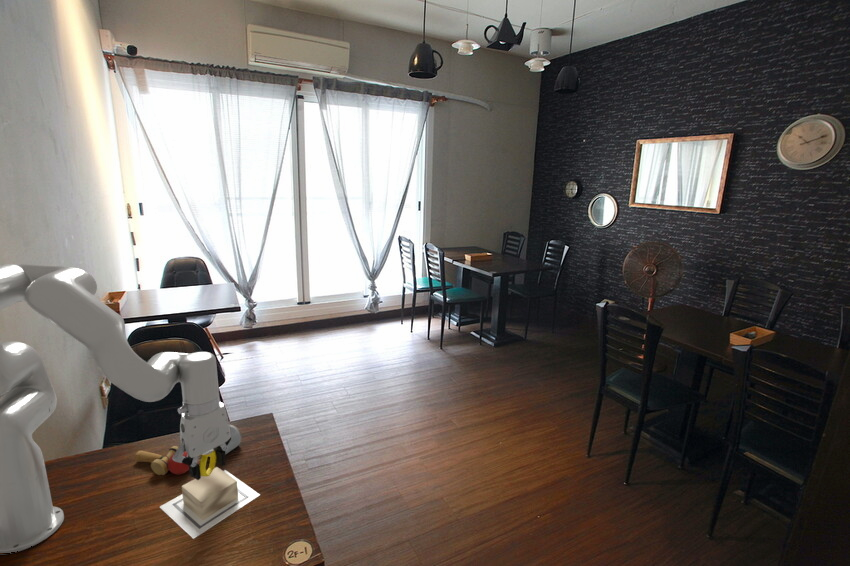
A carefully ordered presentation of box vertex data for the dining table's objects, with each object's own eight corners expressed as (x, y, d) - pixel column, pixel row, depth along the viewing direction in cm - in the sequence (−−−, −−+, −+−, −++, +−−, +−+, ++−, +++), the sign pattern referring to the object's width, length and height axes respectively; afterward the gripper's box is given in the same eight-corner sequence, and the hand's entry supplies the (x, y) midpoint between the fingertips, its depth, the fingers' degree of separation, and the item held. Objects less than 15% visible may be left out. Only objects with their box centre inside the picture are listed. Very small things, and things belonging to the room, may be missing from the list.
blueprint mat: (193, 540, 92) (193, 538, 92) (159, 508, 101) (159, 506, 101) (260, 496, 106) (260, 494, 106) (225, 471, 115) (225, 469, 115)
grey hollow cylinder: (244, 447, 126) (242, 424, 124) (223, 463, 118) (220, 439, 117) (218, 439, 129) (216, 417, 128) (195, 454, 122) (193, 430, 120)
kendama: (125, 474, 114) (176, 481, 109) (124, 452, 114) (175, 457, 109) (151, 462, 121) (200, 468, 116) (150, 441, 121) (199, 445, 116)
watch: (208, 465, 104) (207, 444, 104) (219, 465, 105) (218, 444, 104) (196, 480, 99) (195, 457, 98) (208, 480, 99) (207, 457, 98)
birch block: (202, 520, 98) (201, 502, 96) (183, 503, 102) (181, 486, 101) (238, 497, 105) (236, 481, 104) (218, 483, 110) (217, 466, 109)
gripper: (171, 425, 89) (180, 497, 93) (244, 394, 102) (249, 458, 107) (155, 414, 93) (164, 483, 97) (227, 386, 107) (232, 447, 111)
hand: (208, 469), depth 102 cm, fingers closed on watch, 5 cm apart
